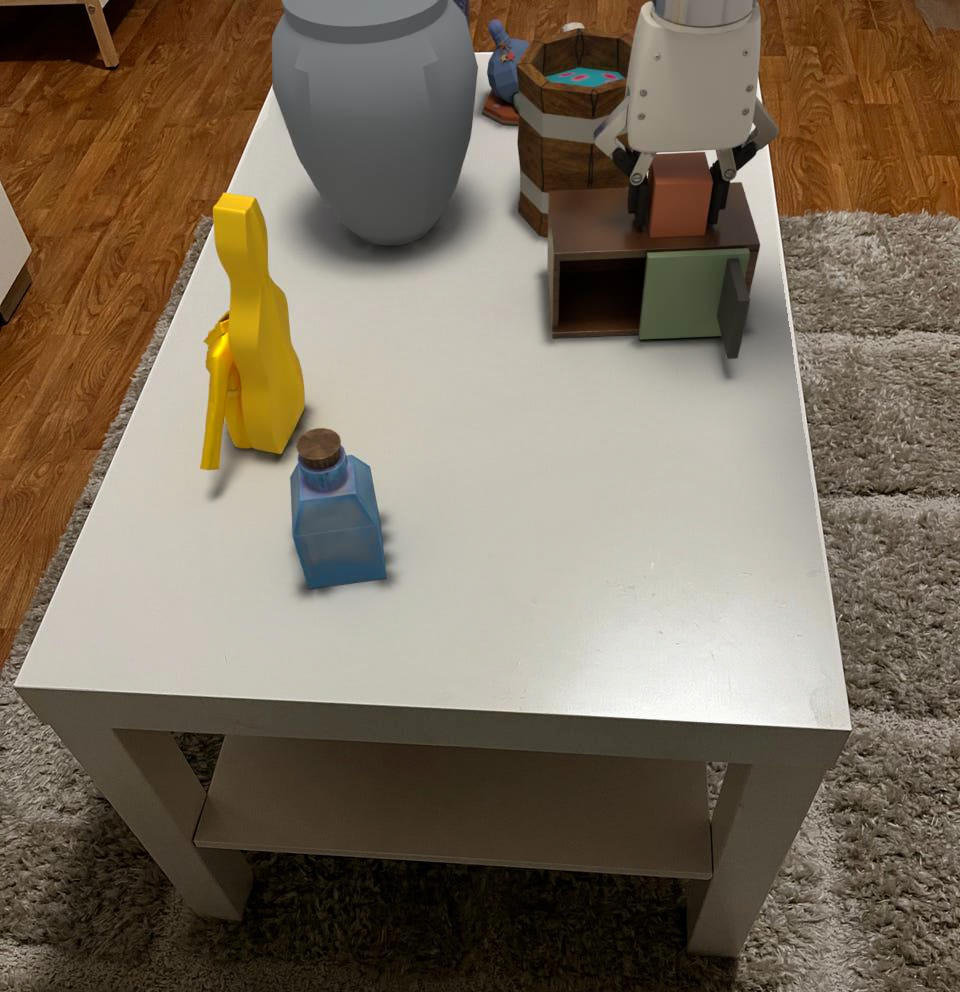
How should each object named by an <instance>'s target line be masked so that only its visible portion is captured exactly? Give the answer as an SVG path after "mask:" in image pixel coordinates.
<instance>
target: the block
mask: <svg viewBox="0 0 960 992" xmlns="http://www.w3.org/2000/svg"><path fill="white" fill-rule="evenodd" d="M647 178H648V183H649V193H648V203H647V213H646V218H647V223H648V228H649V234H650V238H659V237H681V236H703V235H705V229H706V223H707V217H708V210H709V204H710V198H711V191H712V185H713V180H712V176H711V172H710V165H709V162H708V158H707V155H706V152H705V151H689V152H668V153H656V155H655V157H654V159H653V161H652V163H651V165H650V168H649V170H648V172H647Z"/></svg>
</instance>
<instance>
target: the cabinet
mask: <svg viewBox="0 0 960 992" xmlns="http://www.w3.org/2000/svg"><path fill="white" fill-rule="evenodd" d="M628 192H629V187H625V188H604V189H582V190H561V191H549V192H548V237H547V259H546V260H547V261H546V262H547V263H546V264H547V268H546V269H547V271H546V278H547V288H548V290H547V291H548V301H549V303H548V304H549V315H550V325H551V337H552V339H561V338H562V339H566V338H567V339H568V338H585V337H586V338H588V337H612V336H635V335H637V336H639V325H640V316H641V306H642V297H643V288H644V279H645V269H646V260H647V253H651V252H674V251H696V250H719V249H741V248H748V249H749V252H750V255H749V260H748V265H747V270H746V275H745V283H746V287H747V290H748V294H749V297H750V295H751V291H752V286H753V281H754V276H755V271H756V267H757V262H758V257H759V253H760V248H761V242H760V238H759V235H758V232H757V229H756V225H755V222H754V219H753V216H752V212H751V208H750V205H749V202H748V199H747V195H746V191H745V189H744V186H743V182H742V181H738V182H737V181H736V182H734V181H733V182H730V185H729V191H728V197H727V202H726V208H725V210H719V216H718V222H717V224H714V225H711V224H710V223H708V220H707V223H706V229H705V235H703V236H681V237H659V238H650V234H649V228H648V223H647V218H646V222H645V226H643V228H637V227H636V221H635V215H634V214H629V213H628Z"/></svg>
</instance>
